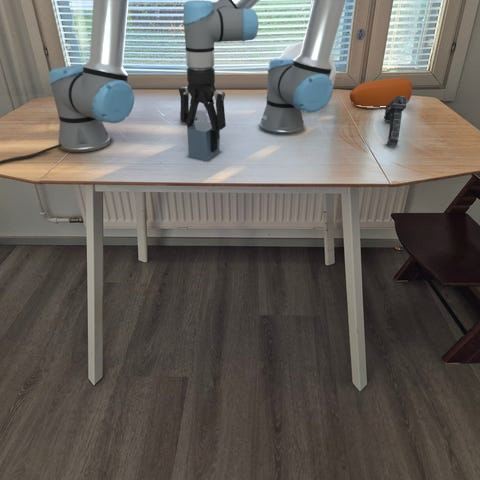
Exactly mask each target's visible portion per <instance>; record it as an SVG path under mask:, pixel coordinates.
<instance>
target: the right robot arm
mask: <svg viewBox="0 0 480 480" xmlns="http://www.w3.org/2000/svg"><path fill="white" fill-rule="evenodd" d="M260 1H261V0H217V1H216V2H212V1H211V0H187V1H185V3H184V4H183V21H182V23H183V29H184V43H185V44H184V45H185V64H186V67H187V68H186V80H187V86H182V87H180V88H178V92H179V96H180V110H181V122H182V123H181V122H180V123H181V124H183V123H185V124H184V125H186V129H187V128H189V127H190V126H192V125H194V124H193V123H195V122H194V120H195V116H196V112H197V108H198V104H199V103H203V104H204V106H205V108H206V109H207V116H208V119H209V122H211V125H212V130H210V138H211V152H214V151H216V150H217V149H218V148H217V141H218V140H219V141H220V138H221V137H220V135H221V133H220V131H221V130H223V129H224V128H225V127H226V126H227V124H226V113H225V101H224V100H225V96H226V93H225V91H222V92H221V91H219V90H217V88H216V87H215V83H216V73H215V71H216V70H215V68H214V67H215V43H222V42H246V41H253V40H255V39H256V37H257V36H258V33H259V32H258V31H259V17H258V14H257V12H256V10H254V9H253V8H254V7H255V6H256V5H257V4H258V3H259V2H260ZM346 1H347V0H313V1H312V7H311V10H310V14H309V18H308V23H307V26H306V30H305V34H304V39H303V41H304V42H303V46H302V50H301V54H300V55H299V56H298V57H289V58H279V57H275V58H272V59H270V60H269V62H268V68H267V87H266V89H267V91H266V106H265V109H264V111H263V113H262V117H261V119H260V123H259V124H260V125H259V126H260V127H259V128H260V129H261V130H262V131H263V132H266V133H268V134H273V135H278V136H290V135H297V134H299V133H301V132H303V131H304V127H305V122H304V119H303V112H304V113H316V112H318V111H321V110H322V109H323V108H324V107H325V106H327V105H328V104H329V102H330V100H331V98H332V96H333V93H334V85H333V84H332V81H331V79H330V78H329V77H330V73H331V70H332V67H331V65H330V63H329V58H330V54H332V51H333V47H334V44H335V40H336V36H337V33H338V29H339V26H340V23H341V20H342V19H341V18H342V15H343V11H344V8H345V4H346ZM189 95H190V96H191V97H190V96H189ZM214 100H215V102H214ZM189 103H190V109H189Z"/></svg>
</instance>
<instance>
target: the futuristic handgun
mask: <svg viewBox="0 0 480 480" xmlns="http://www.w3.org/2000/svg"><path fill="white" fill-rule="evenodd" d="M407 105H408V103H407V99H406V98H405V97H403V96H397V97H396V98H394V99H393V100H392V101H391V102H390V103H389V104H388V105H387V106H386V108H385V110H384V115H383V121H385V122H389V124H390V125H389V132H388V137H387V141H386V142H387V143H386V146H395V147H396V146H398V142H399V137H400V129H401V124H402V116H403V112H404V110H406V109H407ZM384 119H385V120H384ZM386 120H388V121H386Z"/></svg>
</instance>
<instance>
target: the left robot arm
mask: <svg viewBox="0 0 480 480" xmlns="http://www.w3.org/2000/svg"><path fill="white" fill-rule="evenodd" d="M92 1H93V2H92V15H91V17H92V18H91V33H90V48H89V49H90V50H89V60H88V61H87V62H86V63H85V64H77V65H69V66H63V67H57V68H54V69H52V70H50V71H49V73H48V76H49V77H48V78H49V85H50V86H51V90H52V93H53V94H52V95H53V98H54V102H55V107H56V111H57V114H58V118H59V132H58V133H59V134H58V144H55V145H53V146H50V147H48V148H45V149H43V150H40V151H37V152H33V153H30V154H25V155H21V156H15V157H9V158H5V159H2V160H0V165H1V164H5V163H9V162H14V161H18V160H19V161H20V160H24V159H28V158H33V157H37V156H40V155H42V154H45V153H47V152H50V151H53V150H56V149H58V148H60V149H61V150H62V151H64V152H68V153H74V154H76V153H77V154H81V153H82V154H83V153H90V152H96V151H99V150H102V149H104V148H106V147H107V146H108V145H109V144H110V143H111V140H110V139H111V138H110V135H109V133H108V130H107V129H106V127H105V125H104V123H108V124H117V123H121V122H123V121H124V120H125V119H126V118H127V117H129V115H130V114H131V113H132V111H133V108H134V105H135V94H134V91H133V90H132V87H131V86H130V85H129V83H128V77H129V76H128V73H127V72H126V70H125V68H124V58H125V57H124V56H125V46H126V36H127V35H126V34H127V22H128V13H129V0H92Z"/></svg>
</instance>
